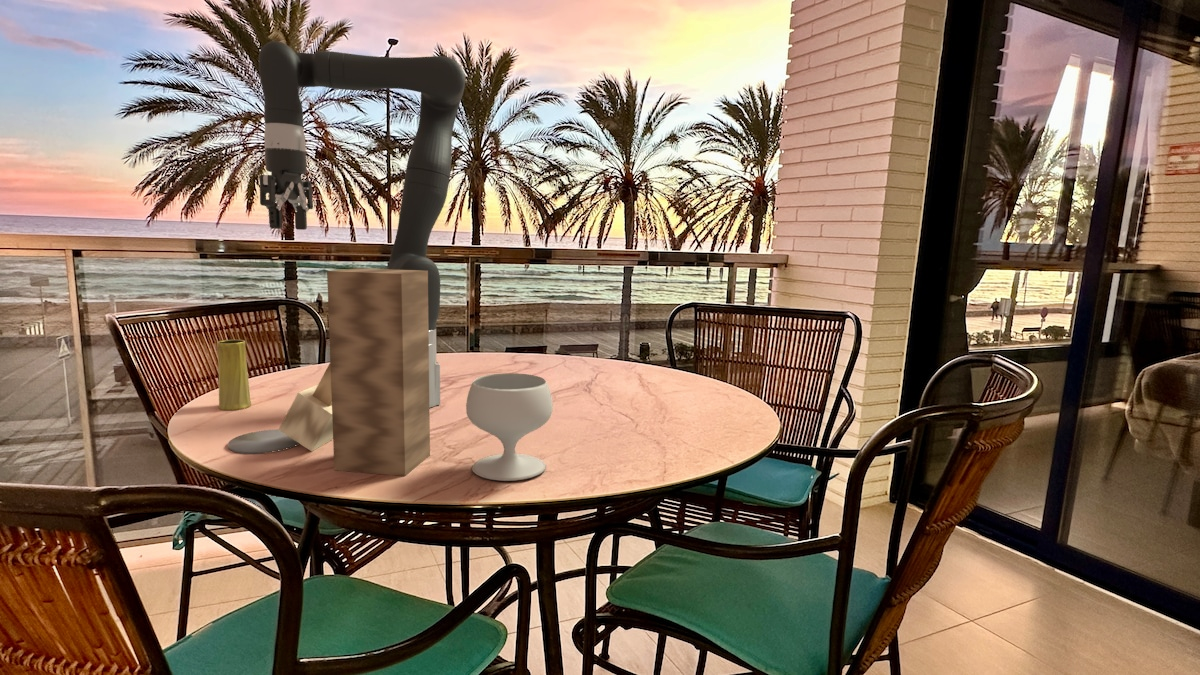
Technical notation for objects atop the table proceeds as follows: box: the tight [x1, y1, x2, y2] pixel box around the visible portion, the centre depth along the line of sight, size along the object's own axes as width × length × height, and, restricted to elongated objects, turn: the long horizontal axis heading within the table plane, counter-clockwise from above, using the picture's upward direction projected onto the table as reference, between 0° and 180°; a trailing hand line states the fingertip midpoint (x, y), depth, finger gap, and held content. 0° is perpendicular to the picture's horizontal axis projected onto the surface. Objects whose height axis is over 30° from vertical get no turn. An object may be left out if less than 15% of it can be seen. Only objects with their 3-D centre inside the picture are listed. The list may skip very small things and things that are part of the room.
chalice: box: [465, 372, 554, 482], centre depth 104 cm, size 14×14×15 cm
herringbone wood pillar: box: [326, 267, 431, 477], centre depth 104 cm, size 12×10×32 cm
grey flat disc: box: [227, 428, 300, 455], centre depth 115 cm, size 12×12×1 cm
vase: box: [216, 339, 252, 411], centre depth 136 cm, size 6×6×14 cm
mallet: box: [278, 363, 333, 452], centre depth 112 cm, size 20×7×7 cm
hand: (289, 229), depth 133 cm, fingers open, 8 cm apart
